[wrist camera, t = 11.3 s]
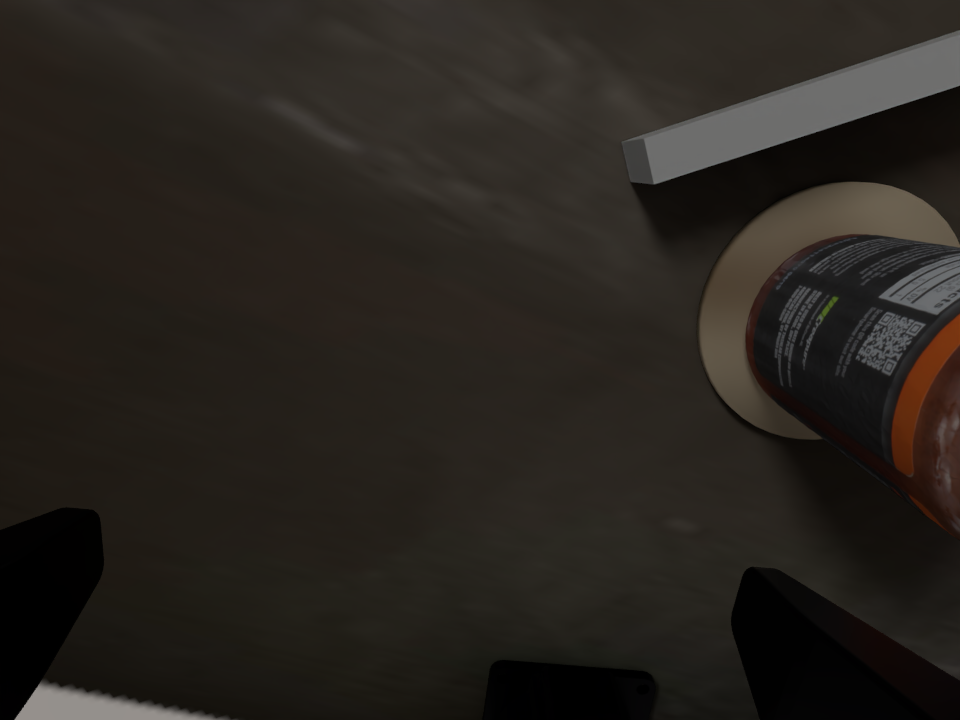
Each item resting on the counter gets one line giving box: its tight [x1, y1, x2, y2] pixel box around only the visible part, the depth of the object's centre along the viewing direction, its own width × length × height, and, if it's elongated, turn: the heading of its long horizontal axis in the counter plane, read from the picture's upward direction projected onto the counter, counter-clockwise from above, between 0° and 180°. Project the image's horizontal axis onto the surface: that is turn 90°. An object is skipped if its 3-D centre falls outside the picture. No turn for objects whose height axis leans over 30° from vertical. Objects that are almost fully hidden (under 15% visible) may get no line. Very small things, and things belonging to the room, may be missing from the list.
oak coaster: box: [697, 182, 960, 440], centre depth 20 cm, size 8×8×1 cm
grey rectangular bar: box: [621, 30, 960, 184], centre depth 17 cm, size 10×1×2 cm, turn 108°
